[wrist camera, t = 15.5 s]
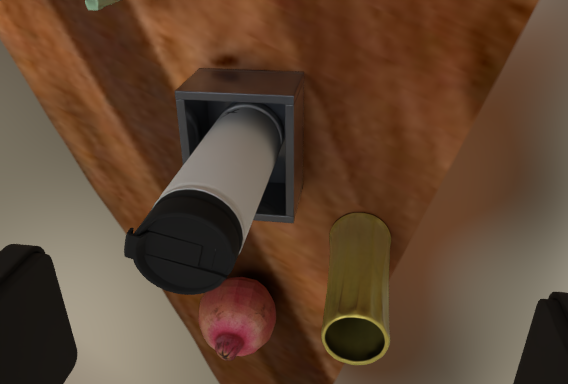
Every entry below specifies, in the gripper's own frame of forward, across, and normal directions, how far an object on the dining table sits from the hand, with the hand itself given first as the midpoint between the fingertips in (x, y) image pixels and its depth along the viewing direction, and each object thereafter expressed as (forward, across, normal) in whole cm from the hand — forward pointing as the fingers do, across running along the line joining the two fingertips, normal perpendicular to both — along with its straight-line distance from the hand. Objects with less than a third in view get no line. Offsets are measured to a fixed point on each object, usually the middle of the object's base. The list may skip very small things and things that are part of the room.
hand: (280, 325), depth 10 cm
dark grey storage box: (+36, +8, +11) cm, 39 cm away
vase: (+36, -2, +22) cm, 43 cm away
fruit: (+36, +10, +30) cm, 48 cm away
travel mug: (+36, +9, +11) cm, 39 cm away
